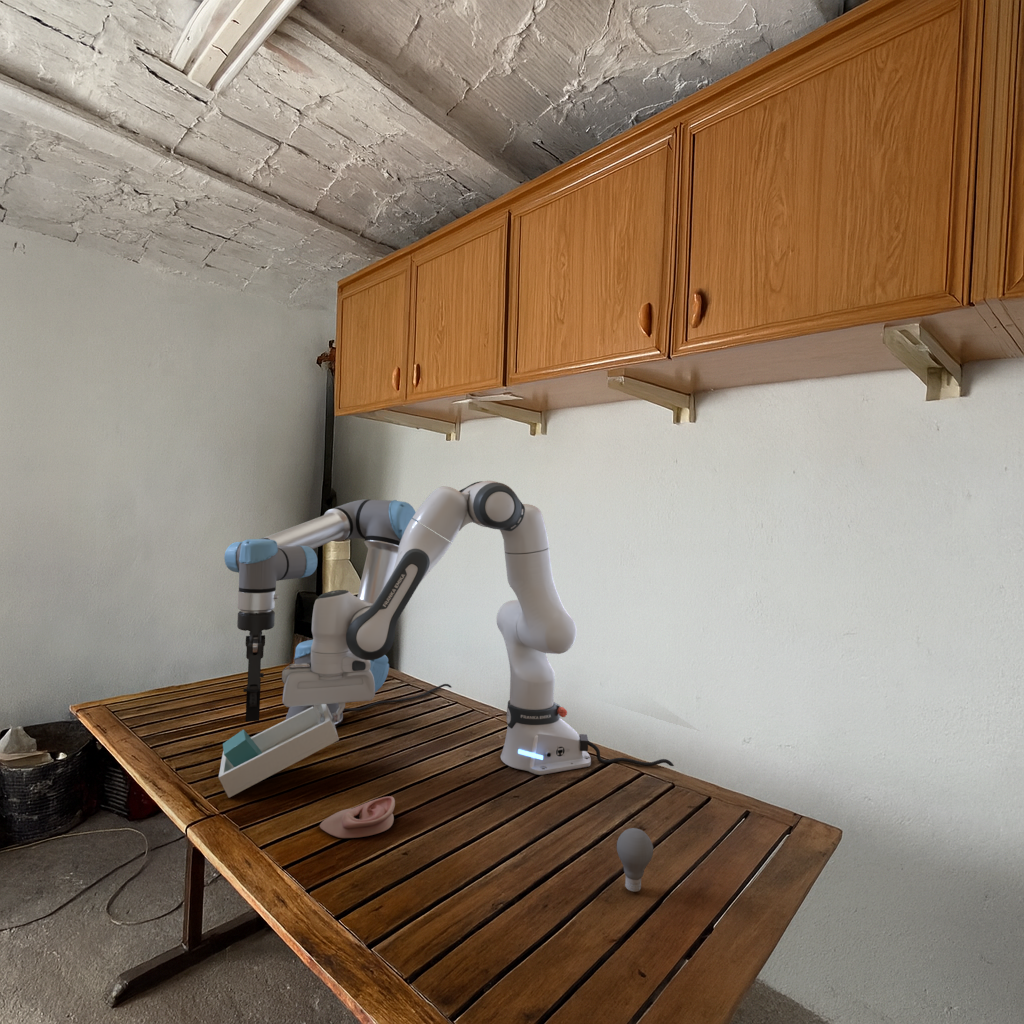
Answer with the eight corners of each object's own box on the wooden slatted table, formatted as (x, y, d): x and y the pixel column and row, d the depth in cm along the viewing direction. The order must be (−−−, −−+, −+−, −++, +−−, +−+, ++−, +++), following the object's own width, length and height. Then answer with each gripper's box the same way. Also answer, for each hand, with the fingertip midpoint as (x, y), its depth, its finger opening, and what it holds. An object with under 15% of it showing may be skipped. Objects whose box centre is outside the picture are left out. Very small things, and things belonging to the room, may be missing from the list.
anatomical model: (312, 812, 119) (340, 786, 130) (311, 833, 119) (340, 805, 130) (378, 823, 116) (401, 795, 127) (377, 844, 116) (401, 814, 127)
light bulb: (610, 878, 109) (613, 821, 108) (645, 878, 109) (647, 821, 109) (619, 901, 103) (622, 840, 103) (655, 900, 103) (658, 839, 103)
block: (240, 766, 140) (222, 743, 138) (261, 751, 142) (243, 728, 139) (242, 777, 136) (223, 754, 133) (264, 762, 137) (245, 739, 135)
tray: (228, 798, 131) (218, 777, 130) (232, 770, 144) (222, 751, 143) (339, 740, 139) (330, 720, 138) (333, 718, 152) (324, 700, 151)
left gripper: (275, 618, 130) (271, 729, 130) (274, 602, 149) (270, 698, 149) (235, 619, 127) (231, 732, 128) (239, 602, 146) (236, 700, 147)
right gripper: (282, 668, 137) (280, 731, 138) (377, 662, 145) (375, 722, 145) (281, 660, 143) (279, 721, 144) (373, 656, 151) (371, 713, 151)
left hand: (252, 713), depth 138 cm, fingers open, 8 cm apart
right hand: (328, 722), depth 144 cm, fingers closed on tray
